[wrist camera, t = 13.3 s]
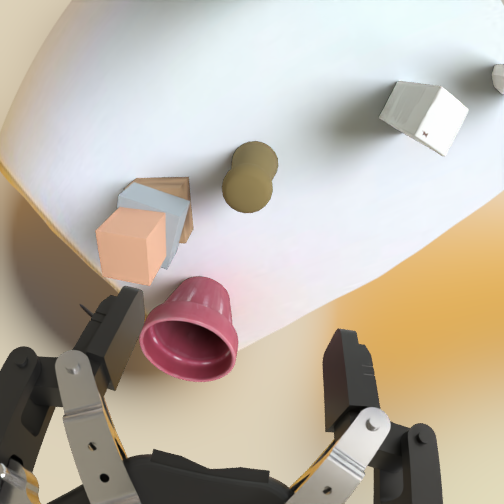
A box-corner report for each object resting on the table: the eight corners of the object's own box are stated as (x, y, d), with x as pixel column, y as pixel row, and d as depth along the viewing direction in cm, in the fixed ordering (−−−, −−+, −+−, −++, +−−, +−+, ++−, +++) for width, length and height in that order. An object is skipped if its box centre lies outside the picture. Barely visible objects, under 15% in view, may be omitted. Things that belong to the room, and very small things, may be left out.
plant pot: (211, 247, 47) (190, 304, 37) (261, 309, 53) (255, 369, 42) (148, 284, 52) (119, 336, 42) (198, 335, 58) (182, 389, 47)
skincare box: (403, 134, 35) (444, 159, 25) (377, 117, 35) (412, 136, 25) (423, 96, 32) (471, 110, 22) (397, 79, 32) (440, 84, 21)
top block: (133, 182, 38) (118, 195, 34) (190, 201, 39) (180, 216, 35) (125, 232, 42) (111, 248, 38) (176, 251, 43) (166, 269, 39)
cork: (225, 174, 41) (206, 208, 32) (241, 134, 38) (227, 155, 29) (267, 191, 42) (261, 230, 32) (285, 152, 39) (286, 180, 29)
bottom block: (137, 177, 42) (123, 188, 39) (189, 176, 42) (179, 188, 38) (144, 226, 47) (133, 241, 43) (193, 227, 46) (185, 243, 42)
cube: (119, 206, 35) (95, 230, 30) (165, 212, 35) (146, 238, 30) (123, 249, 38) (103, 276, 33) (166, 256, 38) (149, 286, 33)
